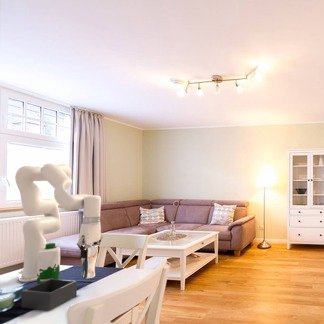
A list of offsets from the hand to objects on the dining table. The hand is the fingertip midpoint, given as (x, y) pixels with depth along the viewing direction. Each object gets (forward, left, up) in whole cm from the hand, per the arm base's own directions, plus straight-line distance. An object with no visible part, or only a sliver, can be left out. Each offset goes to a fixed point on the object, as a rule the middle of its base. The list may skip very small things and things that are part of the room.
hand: (89, 255), depth 137 cm
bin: (-2, -19, -14) cm, 24 cm away
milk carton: (-18, -5, -15) cm, 24 cm away
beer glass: (0, 0, -10) cm, 10 cm away
